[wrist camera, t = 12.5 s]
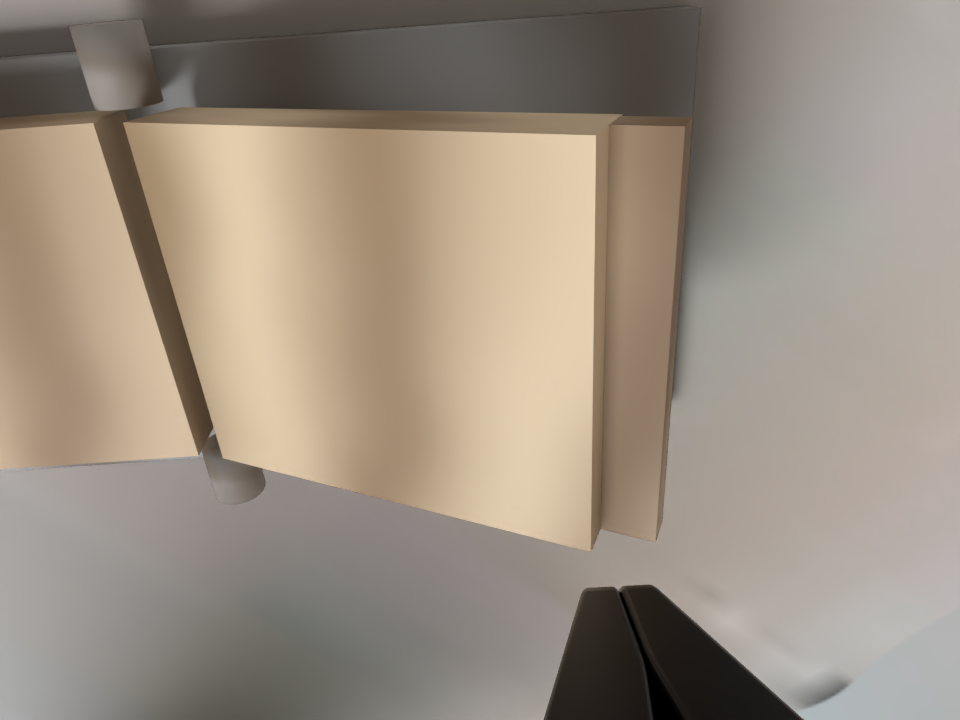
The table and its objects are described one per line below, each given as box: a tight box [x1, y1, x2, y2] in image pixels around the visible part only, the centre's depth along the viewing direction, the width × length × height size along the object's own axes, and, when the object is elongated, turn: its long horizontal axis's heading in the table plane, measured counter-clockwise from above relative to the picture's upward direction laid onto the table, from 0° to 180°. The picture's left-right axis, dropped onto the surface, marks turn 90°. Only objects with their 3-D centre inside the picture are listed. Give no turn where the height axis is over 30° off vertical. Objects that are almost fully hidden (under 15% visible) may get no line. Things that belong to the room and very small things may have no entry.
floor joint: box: [0, 6, 701, 505], centre depth 18 cm, size 20×12×2 cm, turn 94°
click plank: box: [123, 107, 693, 552], centre depth 15 cm, size 11×9×2 cm
